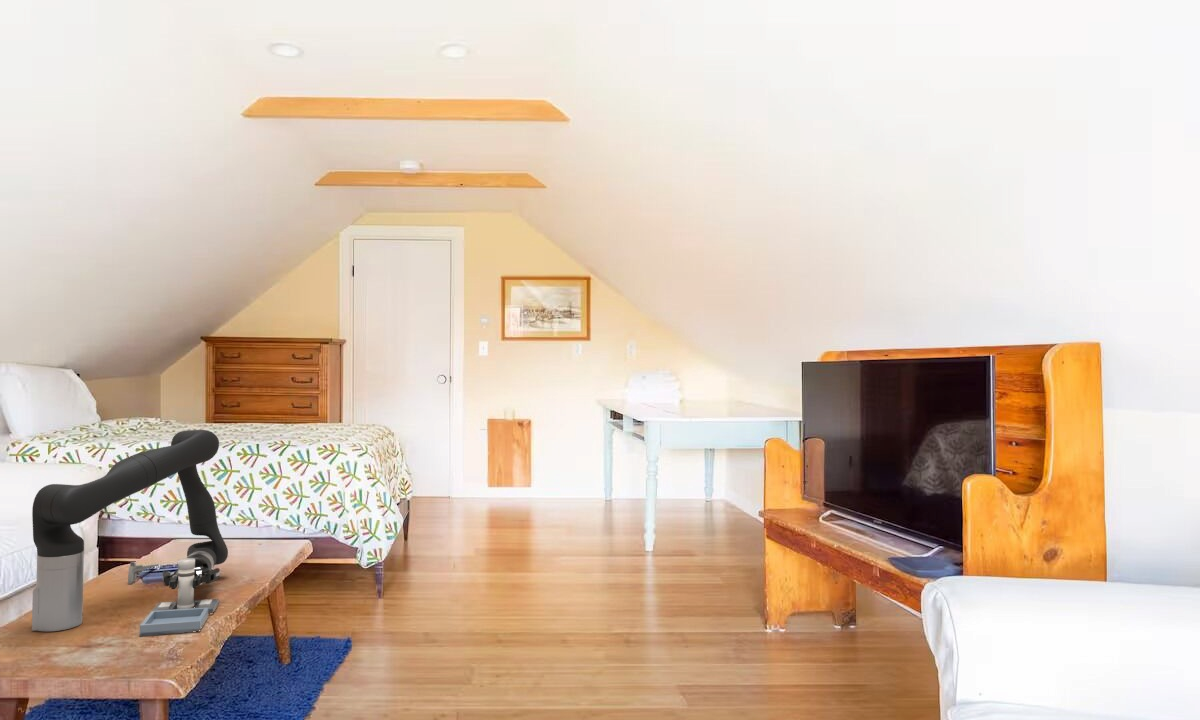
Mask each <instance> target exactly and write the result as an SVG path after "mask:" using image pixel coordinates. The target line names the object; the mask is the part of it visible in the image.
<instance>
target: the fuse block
mask: <svg viewBox="0 0 1200 720" xmlns="http://www.w3.org/2000/svg"><path fill="white" fill-rule="evenodd" d="M219 603H220V599H219V598H210V599H209V598H208V599H194V607H195V608H208V614H210V613H213V612H214V611H215V612H216V610H217V609H216V607H217V606H218V607H219V605H220V604H219ZM177 604H178V600H176V601H161V602H160V601H159V602H158V603H156V605H155V606H154V607H153V609H152V610H151V611H161V610H177ZM218 604H219V605H218ZM218 607H217V608H218ZM184 609H192V608H184ZM215 609H216V610H215ZM215 612H214V613H215Z"/></svg>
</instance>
